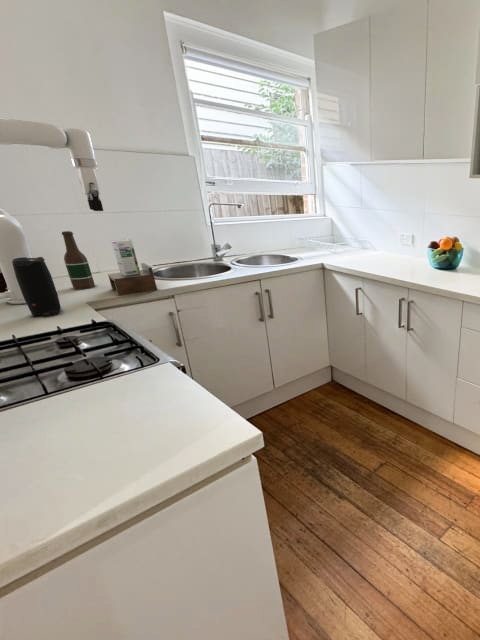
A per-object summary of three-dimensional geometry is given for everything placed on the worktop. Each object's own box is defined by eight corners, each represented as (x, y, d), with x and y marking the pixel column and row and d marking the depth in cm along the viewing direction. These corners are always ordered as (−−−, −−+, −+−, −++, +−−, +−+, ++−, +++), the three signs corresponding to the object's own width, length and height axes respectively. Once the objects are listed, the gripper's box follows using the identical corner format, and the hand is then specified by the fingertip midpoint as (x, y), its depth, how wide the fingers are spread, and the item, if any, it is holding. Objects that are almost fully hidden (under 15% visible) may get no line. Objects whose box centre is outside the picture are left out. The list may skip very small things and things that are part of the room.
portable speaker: (44, 318, 130) (23, 261, 122) (23, 316, 132) (1, 259, 124) (70, 311, 138) (51, 257, 130) (50, 309, 140) (31, 255, 132)
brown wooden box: (118, 295, 158) (112, 271, 154) (112, 289, 166) (105, 266, 163) (157, 290, 167) (151, 267, 164) (149, 284, 176) (144, 263, 172)
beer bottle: (99, 286, 172) (83, 231, 162) (81, 290, 165) (63, 233, 156) (86, 284, 173) (69, 230, 164) (68, 288, 166) (49, 232, 157)
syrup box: (125, 276, 161) (115, 241, 155) (120, 274, 164) (110, 239, 158) (140, 274, 165) (132, 239, 159) (135, 272, 168) (126, 238, 163)
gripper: (70, 164, 153) (82, 209, 159) (74, 163, 142) (87, 211, 148) (94, 165, 158) (104, 209, 164) (100, 164, 146) (111, 211, 153)
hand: (96, 210), depth 156 cm, fingers open, 9 cm apart
